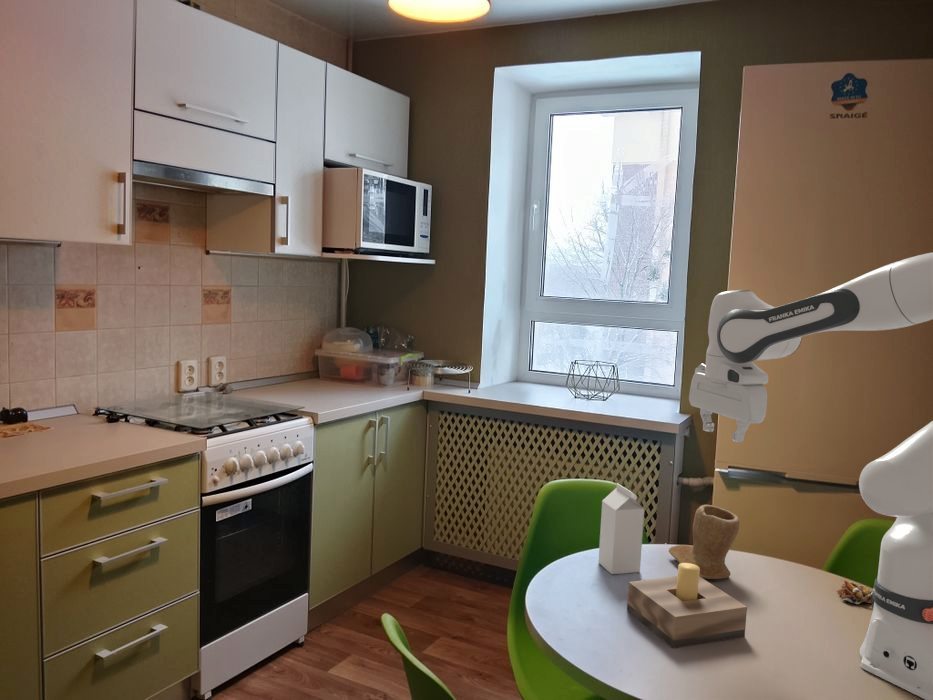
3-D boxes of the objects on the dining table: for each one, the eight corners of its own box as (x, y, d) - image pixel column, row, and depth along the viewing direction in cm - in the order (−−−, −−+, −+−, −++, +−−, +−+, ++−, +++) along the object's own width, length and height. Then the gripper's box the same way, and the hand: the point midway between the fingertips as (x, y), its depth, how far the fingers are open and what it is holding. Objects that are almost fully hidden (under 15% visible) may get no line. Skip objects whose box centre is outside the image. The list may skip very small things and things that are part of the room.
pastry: (864, 588, 177) (866, 573, 177) (878, 611, 166) (880, 595, 165) (831, 583, 179) (832, 568, 179) (842, 606, 167) (844, 590, 167)
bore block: (744, 636, 151) (747, 606, 150) (672, 648, 145) (675, 616, 145) (693, 601, 166) (695, 573, 165) (626, 610, 160) (628, 581, 160)
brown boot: (744, 582, 177) (750, 517, 175) (694, 584, 175) (699, 518, 173) (713, 557, 192) (718, 496, 190) (666, 558, 190) (670, 497, 188)
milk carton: (611, 575, 178) (616, 492, 176) (598, 563, 185) (602, 483, 182) (640, 572, 180) (645, 491, 178) (625, 561, 187) (631, 482, 184)
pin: (699, 619, 154) (704, 569, 153) (682, 621, 153) (686, 571, 152) (687, 610, 158) (691, 562, 157) (670, 612, 156) (674, 563, 155)
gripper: (684, 362, 170) (679, 425, 171) (748, 377, 151) (742, 448, 152) (708, 362, 172) (704, 424, 174) (775, 377, 153) (769, 447, 155)
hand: (722, 436), depth 163 cm, fingers open, 8 cm apart
